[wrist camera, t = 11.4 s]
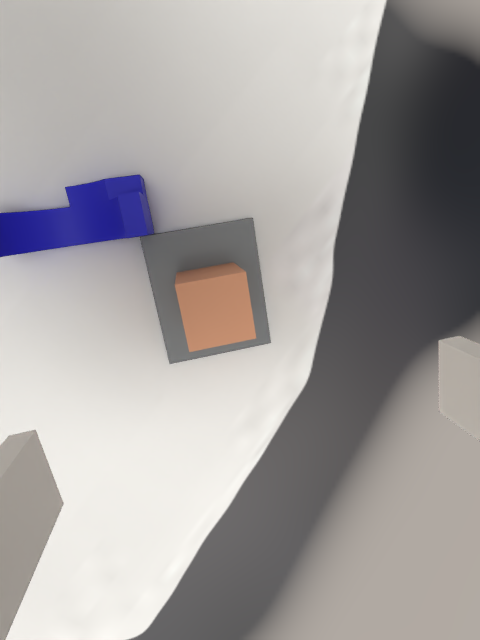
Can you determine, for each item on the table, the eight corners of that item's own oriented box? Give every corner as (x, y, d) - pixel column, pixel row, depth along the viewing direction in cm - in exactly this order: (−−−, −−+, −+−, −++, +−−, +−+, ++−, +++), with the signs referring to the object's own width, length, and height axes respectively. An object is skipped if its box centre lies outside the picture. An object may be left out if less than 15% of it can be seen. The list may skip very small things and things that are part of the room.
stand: (140, 236, 31) (130, 239, 25) (251, 217, 32) (266, 216, 26) (170, 361, 34) (167, 389, 28) (269, 341, 35) (286, 363, 29)
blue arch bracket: (143, 179, 30) (134, 168, 24) (154, 233, 31) (148, 235, 25) (-6, 199, 29) (-53, 192, 23) (12, 254, 30) (-29, 261, 24)
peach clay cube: (176, 272, 31) (174, 284, 25) (233, 262, 32) (245, 271, 26) (188, 327, 33) (189, 352, 26) (242, 316, 33) (256, 338, 27)
